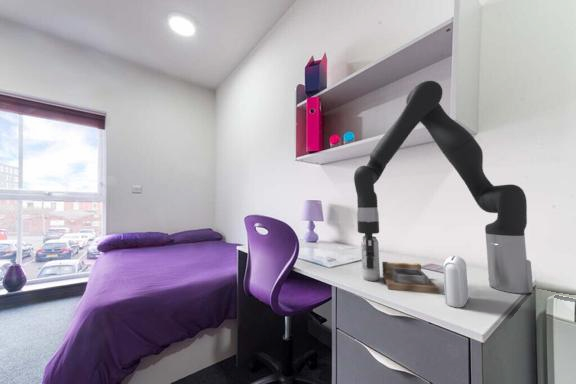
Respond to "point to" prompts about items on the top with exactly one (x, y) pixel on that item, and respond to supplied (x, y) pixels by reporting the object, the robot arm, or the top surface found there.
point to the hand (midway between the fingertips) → (369, 266)
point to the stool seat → (409, 280)
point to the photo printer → (455, 281)
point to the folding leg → (399, 266)
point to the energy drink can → (375, 272)
